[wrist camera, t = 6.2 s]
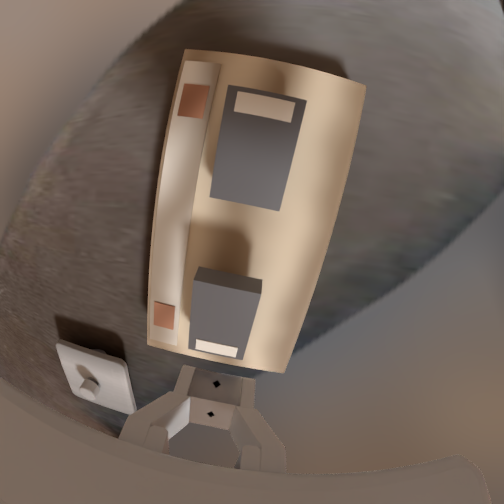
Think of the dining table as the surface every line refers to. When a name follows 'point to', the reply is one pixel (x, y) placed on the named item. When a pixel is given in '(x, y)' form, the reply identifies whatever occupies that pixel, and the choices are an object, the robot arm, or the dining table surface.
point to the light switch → (97, 376)
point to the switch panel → (246, 216)
